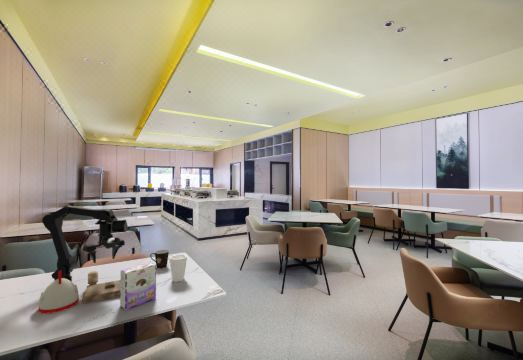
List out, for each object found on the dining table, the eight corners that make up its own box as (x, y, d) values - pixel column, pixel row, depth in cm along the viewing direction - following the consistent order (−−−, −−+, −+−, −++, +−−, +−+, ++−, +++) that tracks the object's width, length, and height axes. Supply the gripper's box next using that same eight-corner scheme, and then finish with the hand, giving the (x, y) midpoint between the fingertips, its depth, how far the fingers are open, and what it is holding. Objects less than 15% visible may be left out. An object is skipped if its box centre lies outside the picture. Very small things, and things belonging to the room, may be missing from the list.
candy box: (150, 295, 117) (150, 261, 117) (156, 298, 113) (156, 264, 114) (119, 306, 107) (120, 269, 107) (125, 310, 103) (125, 272, 103)
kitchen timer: (77, 295, 117) (78, 264, 117) (80, 306, 107) (80, 272, 107) (39, 304, 108) (39, 271, 108) (37, 317, 98) (38, 280, 98)
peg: (87, 290, 122) (87, 274, 122) (88, 287, 126) (88, 271, 126) (97, 288, 124) (97, 273, 124) (98, 285, 128) (98, 270, 128)
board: (83, 303, 108) (83, 297, 109) (87, 291, 121) (87, 285, 121) (123, 295, 117) (123, 289, 117) (123, 284, 129) (123, 279, 129)
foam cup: (165, 282, 133) (165, 258, 133) (175, 275, 142) (175, 253, 142) (180, 283, 130) (181, 260, 131) (189, 277, 139) (189, 255, 140)
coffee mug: (171, 266, 158) (171, 251, 158) (159, 270, 151) (160, 254, 151) (160, 262, 164) (160, 248, 164) (148, 266, 157) (149, 251, 157)
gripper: (92, 237, 118) (91, 268, 118) (130, 231, 134) (129, 259, 134) (83, 234, 125) (81, 264, 124) (120, 229, 140) (119, 255, 140)
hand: (104, 260), depth 130 cm, fingers open, 9 cm apart
